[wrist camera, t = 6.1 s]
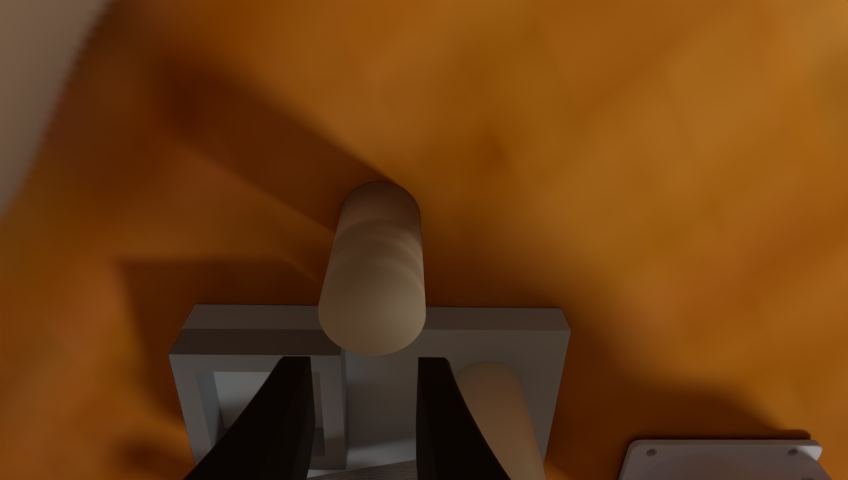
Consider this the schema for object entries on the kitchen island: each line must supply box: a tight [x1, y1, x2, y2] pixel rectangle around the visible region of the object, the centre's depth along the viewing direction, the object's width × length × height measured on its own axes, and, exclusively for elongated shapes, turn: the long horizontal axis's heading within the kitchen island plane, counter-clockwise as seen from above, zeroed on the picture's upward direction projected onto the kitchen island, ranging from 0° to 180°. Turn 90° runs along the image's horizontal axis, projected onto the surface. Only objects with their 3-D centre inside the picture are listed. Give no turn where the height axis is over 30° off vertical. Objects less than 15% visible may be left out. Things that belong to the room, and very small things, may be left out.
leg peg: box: [318, 182, 426, 356], centre depth 18 cm, size 3×3×6 cm
